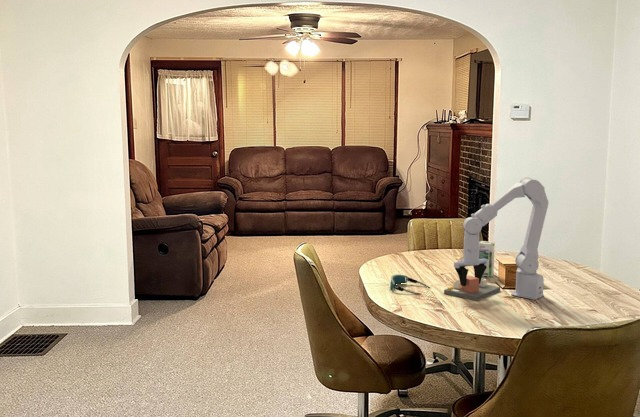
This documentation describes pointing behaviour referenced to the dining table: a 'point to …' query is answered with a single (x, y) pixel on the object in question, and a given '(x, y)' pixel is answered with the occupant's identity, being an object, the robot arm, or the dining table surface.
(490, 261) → the syrup box
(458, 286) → the tagged breaker switch
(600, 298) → the dining table surface
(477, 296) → the breaker panel
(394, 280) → the sunglasses
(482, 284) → the breaker switch
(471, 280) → the block
